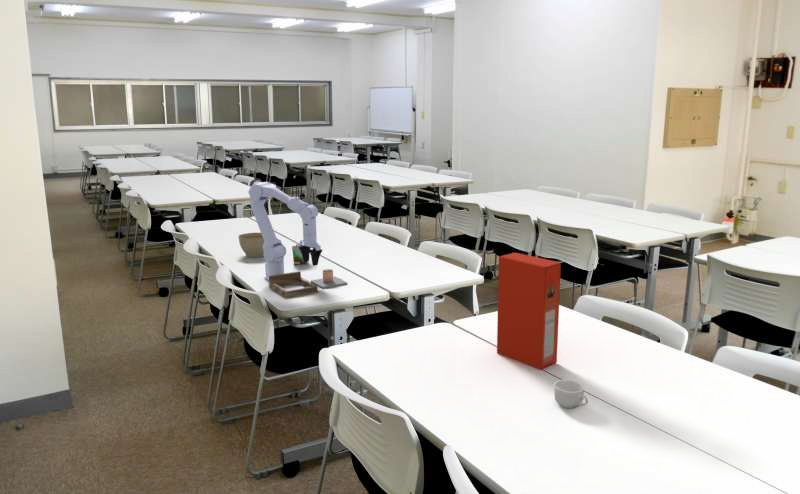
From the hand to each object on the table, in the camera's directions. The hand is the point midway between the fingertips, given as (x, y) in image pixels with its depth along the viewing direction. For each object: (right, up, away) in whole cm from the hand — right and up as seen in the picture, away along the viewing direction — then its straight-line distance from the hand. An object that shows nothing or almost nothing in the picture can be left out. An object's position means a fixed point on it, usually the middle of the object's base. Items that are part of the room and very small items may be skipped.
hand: (310, 263), depth 282 cm
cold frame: (-7, -11, -7) cm, 15 cm away
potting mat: (+8, -9, +2) cm, 12 cm away
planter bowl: (-36, +2, +53) cm, 65 cm away
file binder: (+79, -28, -81) cm, 116 cm away
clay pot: (+7, -8, +2) cm, 11 cm away
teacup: (+84, -35, -112) cm, 145 cm away
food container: (-9, -1, +37) cm, 38 cm away
